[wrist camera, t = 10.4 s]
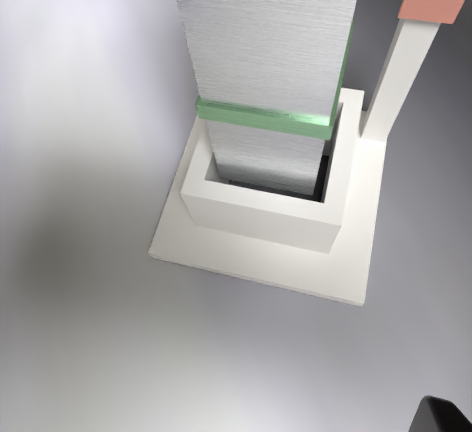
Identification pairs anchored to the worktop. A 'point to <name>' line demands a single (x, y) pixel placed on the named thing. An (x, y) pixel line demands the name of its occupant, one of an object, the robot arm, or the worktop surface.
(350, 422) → the worktop surface
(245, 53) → the column
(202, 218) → the stand
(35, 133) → the worktop surface
